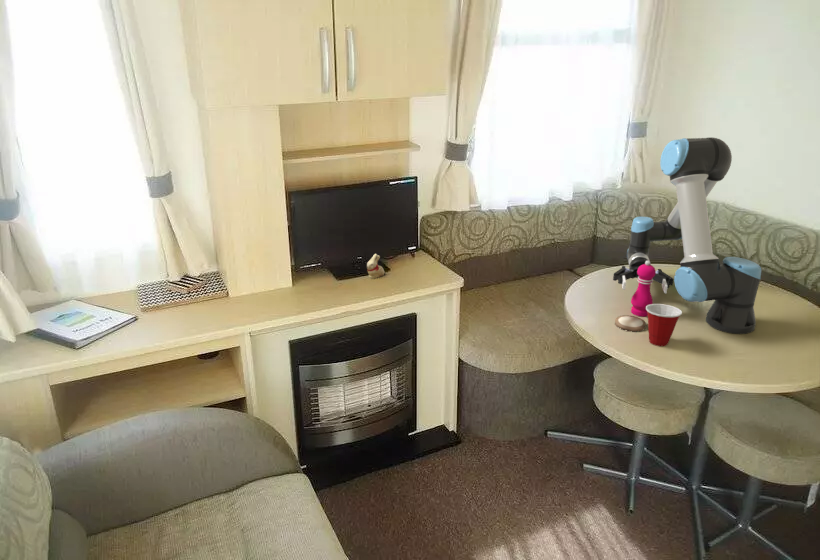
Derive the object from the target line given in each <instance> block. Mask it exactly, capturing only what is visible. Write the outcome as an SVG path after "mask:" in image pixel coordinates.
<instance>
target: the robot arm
mask: <svg viewBox="0 0 820 560" xmlns="http://www.w3.org/2000/svg"><path fill="white" fill-rule="evenodd" d="M732 157H733V156H732V151H731V149H730V147H729V145H728V144H727V143H726V142H725V141H723V140H722V139H720V138H717V137H698V138H697V137H695V138H694V137H693V138H680V139H673V140H671V141H669V142H668V143H667V144H665V146H664V148H663V151H662V152H661V156H660V161H659V162H660V171H661V172H662V173H663V175H665V176H669V181H670V184H673V186H674V187H675V189H676V190H675V191H676V197H677V202H676V204H675V205H674V207H673V209H672V211H671V212H670V213H669V215H668V216H667V217H666V219H665V220H661V221H654V219H653V218H652V217H649V216H636V217H634V218H633V220H632V223H631V226H630V227H631V228H630V237H629V238H630V240H629V245H628V248H627V251H626V258H627V263H628V267H629V268H627V267H626V266H625V265H622V266H621V268H619V269H618V270H617V271H615V272H613V278H612V280H613V281H617V283H618V284H620V285H621V287H622V290H624V291H625V290H626V287H627V280H629V279H632V280H633V279H638V277H639V276H638V274H637V270H638V268H639V266H641V265H643V264H645V262H646V261H650V258H649V253H650V246H651V242H663V241H665V242H666V241H679V240H681V241H682V246H683V256H684V257H683V258H682V259H681V261H680V262H679V264H680V267H679V268H677V269H676V270H675V272H674V274H675V275H674V278H673V277H672V276H671V275H669V274H667V273H666V272H664V271H663V270H662V269H660V268H658V269H657V270H656V274H655V276H654V277H653V281H654V282H657V283H659V284H661V287H662V288H661V289H662V291H663V293H664V294H667V293H668V292H667V291H668V289H669V288H670V286H673V285H674V286H675V289H676V291H677V293H678V294H679V296H681V298H682V299H683V300H685V301H686V302H693V303H694V302H698V303H703V302H708V301H709V302H711V301H713V303H712V305H711V306H710V308H709V309H708V311H707V313H706V315H705V322H706V323H707V325H709V326H710V327H712V328H713V329H715V330H718V331H721V332H724V333H729V334H736V335H738V334H739V335H745V334H750V333H752V332H754V331H755V328H756V323H757V321H756V315H755V308H754V306H755V302H756V298H757V293H758V290H759V285H760V281H761V280H762V278H761V275H762V268H761V266H760V264H759V263H756V262H754V261H752V260H750V259H746V258H743V257H738V256H726V257H724V258H723V260H722V263H720V259H719V257H718V256H716V254H714V253H713V252H714V251H713V245H712V244H713V242H712V238H711V237H712V235H711V228H710V227H711V226H710V221H709V213H708V204H707V203H708V202H707V197H708V196H709V195H710V193H711V191H713V189H714V187H715V186H716V185H717V182H721V181H722V180H723V179H724V178H725V177H726V176H727V174H728V172H729V170H730V168H731V164H732V159H733V158H732ZM650 265H651V263H650Z"/></svg>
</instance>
